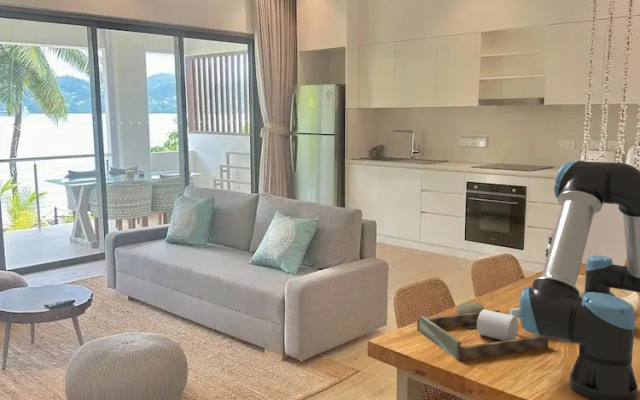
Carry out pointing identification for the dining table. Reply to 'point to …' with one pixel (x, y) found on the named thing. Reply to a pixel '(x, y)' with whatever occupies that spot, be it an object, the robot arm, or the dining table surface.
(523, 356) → the dining table surface
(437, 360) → the dining table surface
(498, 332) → the mug
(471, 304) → the sea urchin shell
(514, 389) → the dining table surface
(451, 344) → the wooden tray
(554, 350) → the dining table surface
